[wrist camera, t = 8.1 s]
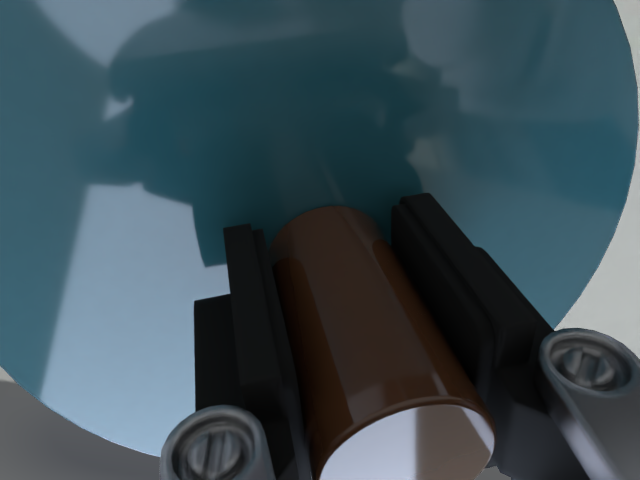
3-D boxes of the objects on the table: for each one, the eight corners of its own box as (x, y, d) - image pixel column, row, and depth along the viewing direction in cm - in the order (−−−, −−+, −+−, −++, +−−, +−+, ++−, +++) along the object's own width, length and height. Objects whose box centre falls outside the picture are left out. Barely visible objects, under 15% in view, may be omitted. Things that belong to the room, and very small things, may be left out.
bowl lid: (687, -192, 9) (1346, -318, 4) (544, 373, 17) (697, 573, 12) (-246, -126, 7) (-1407, -204, 2) (93, 478, 15) (45, 772, 10)
